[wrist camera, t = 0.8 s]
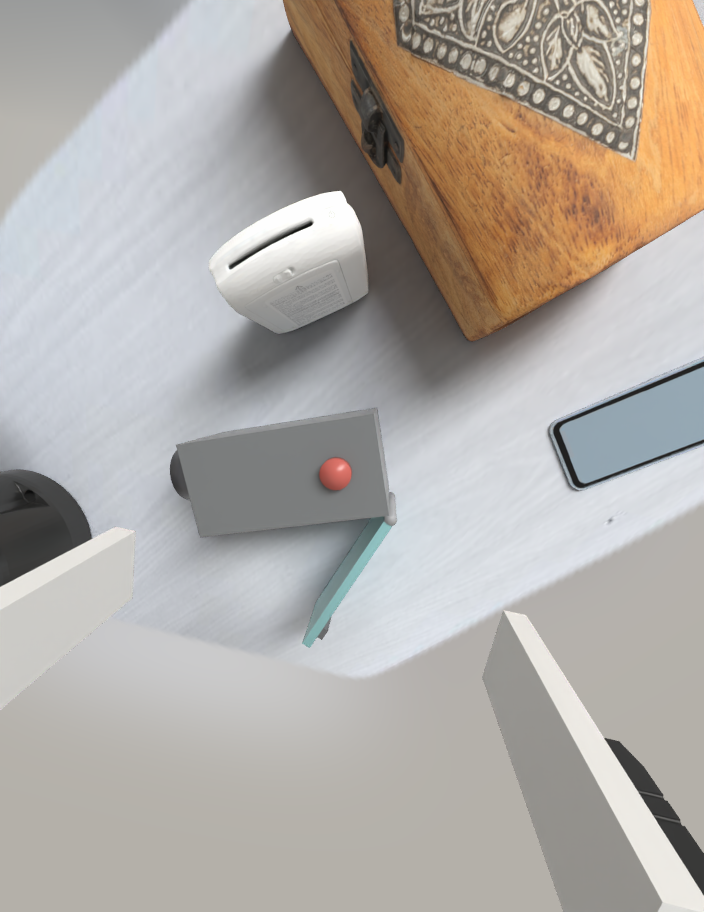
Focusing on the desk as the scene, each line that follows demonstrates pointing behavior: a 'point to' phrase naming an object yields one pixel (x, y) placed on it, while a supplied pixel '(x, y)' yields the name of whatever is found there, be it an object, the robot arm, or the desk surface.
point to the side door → (349, 572)
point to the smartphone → (633, 428)
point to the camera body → (285, 474)
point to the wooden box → (518, 133)
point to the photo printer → (294, 264)
